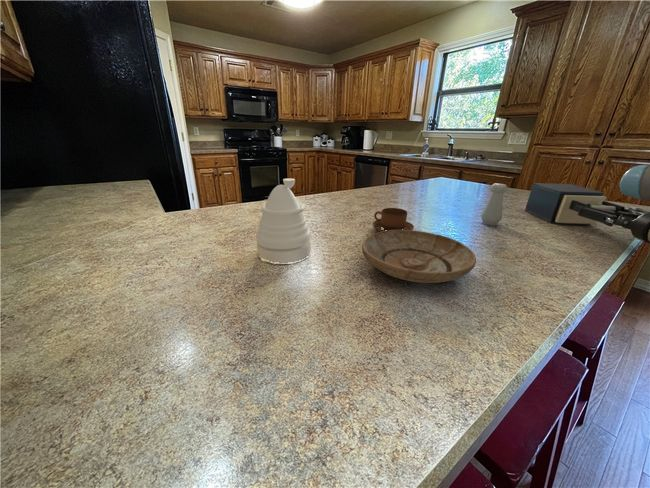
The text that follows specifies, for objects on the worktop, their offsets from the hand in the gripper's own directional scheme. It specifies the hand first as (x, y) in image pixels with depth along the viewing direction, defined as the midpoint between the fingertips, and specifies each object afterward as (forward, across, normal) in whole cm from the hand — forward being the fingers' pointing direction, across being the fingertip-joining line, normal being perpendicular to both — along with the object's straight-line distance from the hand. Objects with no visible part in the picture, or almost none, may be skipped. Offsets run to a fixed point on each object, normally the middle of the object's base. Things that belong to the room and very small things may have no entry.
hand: (586, 205), depth 83 cm
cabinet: (+11, 0, -7) cm, 13 cm away
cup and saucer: (-11, -60, -8) cm, 61 cm away
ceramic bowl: (-34, -58, -8) cm, 68 cm away
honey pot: (-31, -88, -8) cm, 94 cm away
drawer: (+5, 0, -6) cm, 8 cm away
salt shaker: (0, -27, -8) cm, 28 cm away
